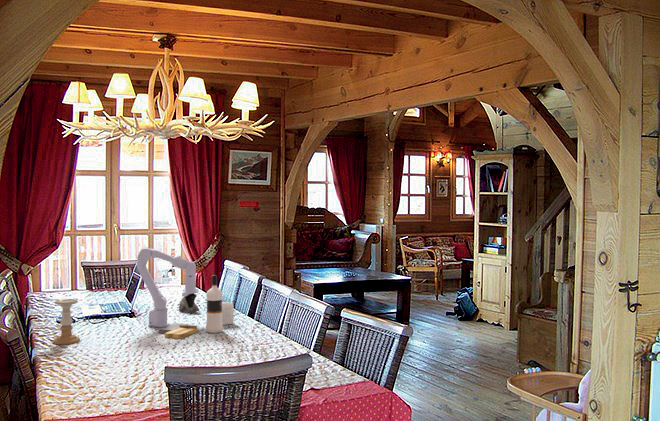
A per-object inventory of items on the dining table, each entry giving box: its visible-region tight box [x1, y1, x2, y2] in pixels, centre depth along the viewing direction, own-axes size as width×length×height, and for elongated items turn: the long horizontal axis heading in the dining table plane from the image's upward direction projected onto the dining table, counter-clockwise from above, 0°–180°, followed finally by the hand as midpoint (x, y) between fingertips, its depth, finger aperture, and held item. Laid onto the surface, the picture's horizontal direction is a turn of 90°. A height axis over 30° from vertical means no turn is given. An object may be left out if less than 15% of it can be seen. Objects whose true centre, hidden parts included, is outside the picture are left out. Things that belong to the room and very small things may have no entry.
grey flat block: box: [158, 322, 189, 334], centre depth 334 cm, size 8×16×2 cm, turn 163°
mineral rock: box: [178, 296, 200, 313], centre depth 383 cm, size 13×11×10 cm
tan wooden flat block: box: [164, 324, 198, 339], centre depth 324 cm, size 9×16×3 cm, turn 163°
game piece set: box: [224, 344, 268, 360], centre depth 287 cm, size 19×20×4 cm
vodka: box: [205, 274, 224, 334], centre depth 331 cm, size 9×9×30 cm
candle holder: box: [52, 298, 81, 346], centre depth 307 cm, size 12×12×20 cm
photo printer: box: [222, 301, 235, 326], centre depth 349 cm, size 10×4×12 cm, turn 123°
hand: (190, 307), depth 349 cm, fingers closed
